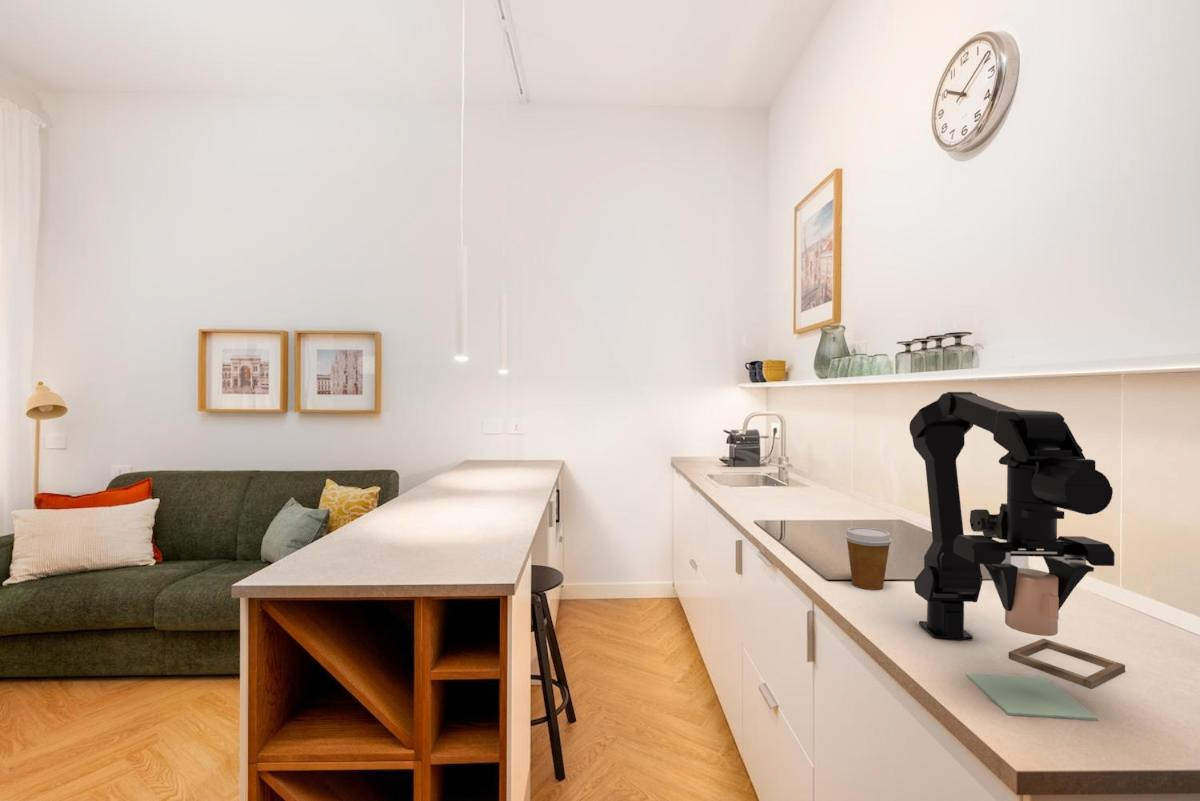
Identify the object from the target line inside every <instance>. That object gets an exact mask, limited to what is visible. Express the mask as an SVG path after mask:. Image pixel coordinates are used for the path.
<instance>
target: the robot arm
mask: <svg viewBox="0 0 1200 801" xmlns="http://www.w3.org/2000/svg"><path fill="white" fill-rule="evenodd" d="M974 426H976V427H978V428H980V429H982V430H986V431H987V432H989V433H991V434H993V435H992V436H993V437H992V438H993V441H994V442H995V443H996V444H998V445H999V446H1000V447H1002V448H1003V449H1005V451H1007V453H1006V454H1004V455H1002V456H1001V457H1000V459H998V463H999V465H1002V466H1003V465H1004V466H1007V467H1006V468H1007V470H1006V471H1007V472H1006V474H1007V475H1006V480H1007V481H1006V503H1000V506H999V513H998V514H990V511H989V510H988V509H978V508H977V509H972V510H970V513H969V514H970V515H969V524H970V529H971V530H972V531H973V532H976V533H977V532H979V533H980V532H982V533H983V534H981V535H980V534H964V525H963V514H962V507H961V497H960V495H961V494H960V487H959V477H958V468H957V467H958V466H957V459H958V458H959V455H960V453H961V451H962V450H963V449H964V446H965V435H966V434H967V433H968V432H969V431H970V430H972V428H973V427H974ZM909 433H910V436H911V437H912V438H911V439H912V443H913V448H914V449H915V451H916V452H917V453H918V454H919V456H920V457H921V458H922V459H923V461H924V464H925V473H926V474H925V475H926V484H927V485H926V486H927V496H928V497H927V498H928V505H929V507H928V508H929V515H930V516H929V517H930V525H931V526H930V528H931V536H932V542H931V543H930V546H929V547H928V549H927V551H926V553H925V555H924V556H923V563H924V564H923V569H922V570H921V571H920V572H919V574H918V575H917V576H916V577H915V579H914V580H913V585H914V592H915V594H917V596H920V597H921V598H922V599H923V600H926V620H925V621H923V620H920V621H919V622H918V624H919V626H921V627H922V628H923V630H925V631H926V632H927V633H928V634H930V636H932V637H933V638H936V639H949V640H950V639H953V640H954V639H955V640H973V639H974V636H973V635H972V634H971V633H969V632H968V631H967V630H965V602H966V603H967V602H968V603H969V602H970V603H978V600H979V596H980V592H981V590H982V585H983V577H984V576H983V575H982V571H981V565H983V566H984V567H985V568H986V570H987V572H988V574H989V576H990V578H991V579H992V582H993V584H994V587H995V589H996V592H997V594H998V597H999V599H1000V603H1001V604H1002V607H1003V609H1004V611H1005V610H1007V611H1011V610H1012V607H1013V603H1014V596H1015V588H1016V580H1017V573H1018V567H1016V566H1014V565H1012V564H1010V563H1011V556H1028V557H1043V559H1044V562H1045V565H1046V566H1047V568H1048V573H1050V574H1053V575H1055V576H1057V577H1058V597H1059V611H1060V610H1061V608H1062V606H1063V605H1064V603H1065V602H1066V600H1067V599H1068V598H1069V596H1070V595H1071V593H1072V592H1073V590H1074V589H1075V588H1076V587H1077V585H1078V584H1079V583H1080V582H1081V581H1082V579H1083V578H1084V577H1085V576H1086V575H1087V574H1088V573H1090V572H1091V573H1092V572H1094V570H1095V568H1094V567H1096V566H1097V567H1105V566H1106V567H1114V566H1115V558H1116V557H1115V556H1116V553H1115V552H1114V550H1113V548H1112V547H1111V546H1110V544H1109V543H1106V542H1103V541H1099V540H1097V539H1092V538H1089V537H1086V536H1080V535H1079V536H1077V535H1076V536H1075V535H1074V536H1073V535H1072V536H1071V535H1070V536H1069V535H1062V536H1061V535H1059V536H1058V520H1064V519H1065V511H1064V510H1066V511H1070V512H1075V513H1078V514H1082V515H1086V516H1087V515H1090V516H1091V515H1096V514H1099V513H1101V512H1103V511H1104V510H1105V509H1106V508H1107V507H1108V506H1109V505H1110V503H1111V501H1112V498H1113V487H1112V486H1111V483H1110V480H1109V479H1108V478H1107V476H1105V474H1104V473H1102V472H1101V471H1099V470H1097V469H1096V461H1095V460H1094V459H1090V458H1086V456H1085V455H1084V453H1083V448H1082V447H1081V445H1079V443H1078V441H1077V440H1076V438H1075V436H1074V434H1073V433H1072V431H1071V429H1070V427H1069V425H1068V424H1067V422H1066V421H1065V417H1064V416H1063V415H1062V414H1061V413H1058V412H1056V411H1046V410H1035V409H1034V410H1033V409H1032V410H1031V409H1017V408H1014V407H1011V406H1008V405H1005V404H1002V403H999V402H996V401H993V400H992V399H991V400H990V399H989V398H985V397H982V396H979V395H978V394H976V393H973V392H972V391H947V392H945V393H944V392H943V393H942V394H941V395H940V396H939V398H937V399H936V400H935V401H933V402H931V403H929V404H927V405H924V407H922V408H920V409H919V410H918V411H917V412H916V414H915V415H913V417H912V419H911V421H910V422H909ZM1060 509H1063V510H1060ZM996 539H998V540H996ZM999 540H1003V541H999ZM1004 540H1007V542H1004ZM1018 549H1026V550H1018ZM1087 562H1088V563H1089V564H1090V565H1088V564H1087ZM1093 566H1094V567H1093Z"/></svg>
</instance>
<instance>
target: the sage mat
mask: <svg viewBox="0 0 1200 801" xmlns="http://www.w3.org/2000/svg"><path fill="white" fill-rule="evenodd" d="M965 676H966V677H967V678H968V679H969V680H970V681H971V682H973V683H974V685H976V686H977V687H978V689H980V690H981V691H982V692H983V693H984V694H985V695H986V696H987V697H989V699H990V700H992V702H994V703H995V704H996V705H997V706H998V707H999V708H1000V709H1001V710H1002V711H1004V712H1005V713H1006V715H1008V716H1018V717H1019V716H1020V717H1037V718H1052V719H1057V718H1058V719H1067V720H1068V719H1069V720H1070V719H1071V720H1086V721H1089V720H1090V721H1099V718H1098V717H1097V716H1096V715H1095V714H1093V713H1092V712H1091V711H1089V710H1088V709H1087V708H1086V707H1084V706H1083V705H1082V704H1080V703H1079V702H1078V701H1077V700H1075V699H1073V698H1072V697H1071V696H1070V695H1068V694H1067V693H1066V692H1064V691H1063V690H1062V689H1060V687H1058V686H1056V685H1055V684H1053V683H1052V682H1051V681H1049V679H1047V678H1046V677H1043V676H1027V675H1024V676H1023V675H1010V674H1009V675H1008V674H1006V675H1003V674H985V673H969V672H968V673H967V672H966V673H965Z"/></svg>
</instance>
